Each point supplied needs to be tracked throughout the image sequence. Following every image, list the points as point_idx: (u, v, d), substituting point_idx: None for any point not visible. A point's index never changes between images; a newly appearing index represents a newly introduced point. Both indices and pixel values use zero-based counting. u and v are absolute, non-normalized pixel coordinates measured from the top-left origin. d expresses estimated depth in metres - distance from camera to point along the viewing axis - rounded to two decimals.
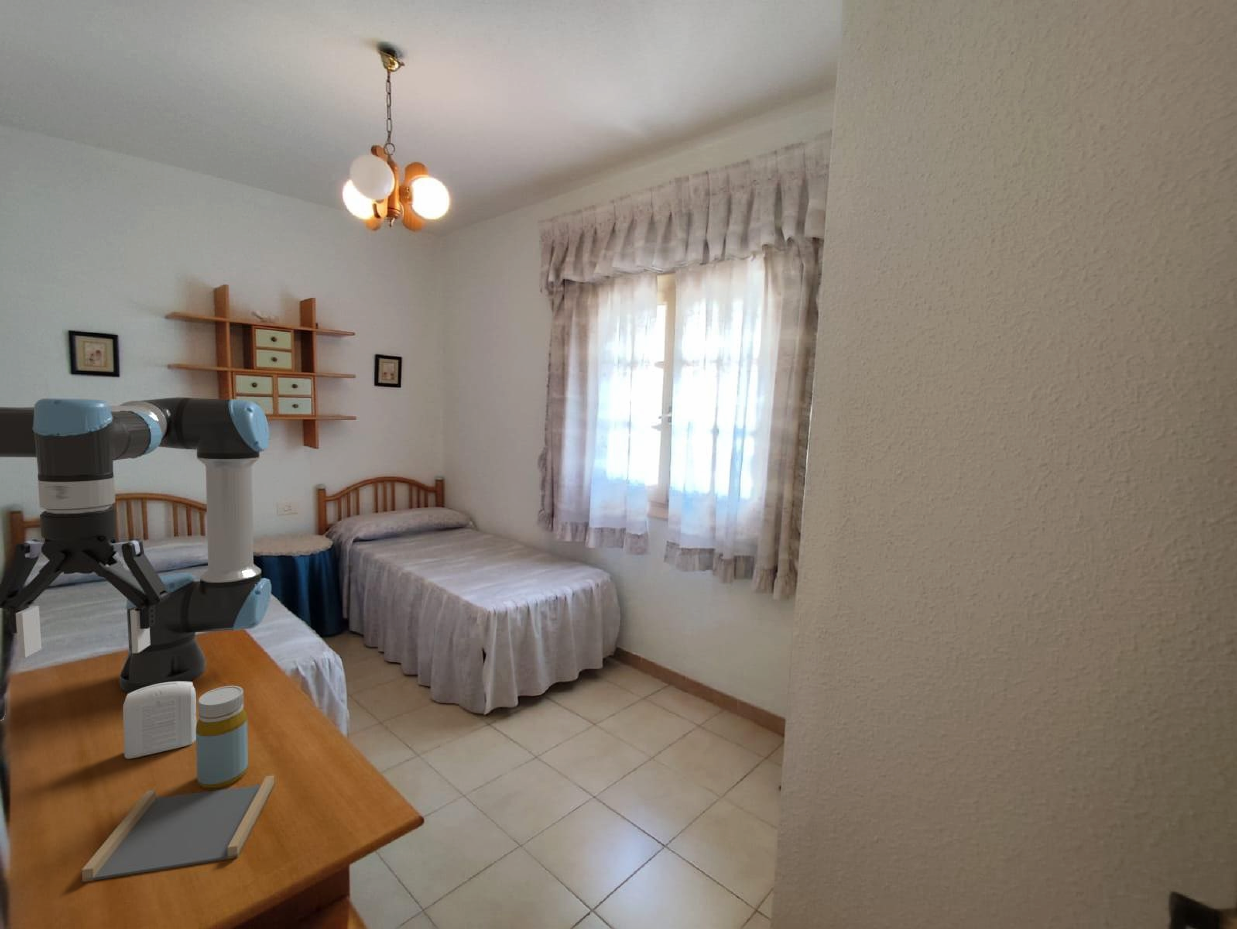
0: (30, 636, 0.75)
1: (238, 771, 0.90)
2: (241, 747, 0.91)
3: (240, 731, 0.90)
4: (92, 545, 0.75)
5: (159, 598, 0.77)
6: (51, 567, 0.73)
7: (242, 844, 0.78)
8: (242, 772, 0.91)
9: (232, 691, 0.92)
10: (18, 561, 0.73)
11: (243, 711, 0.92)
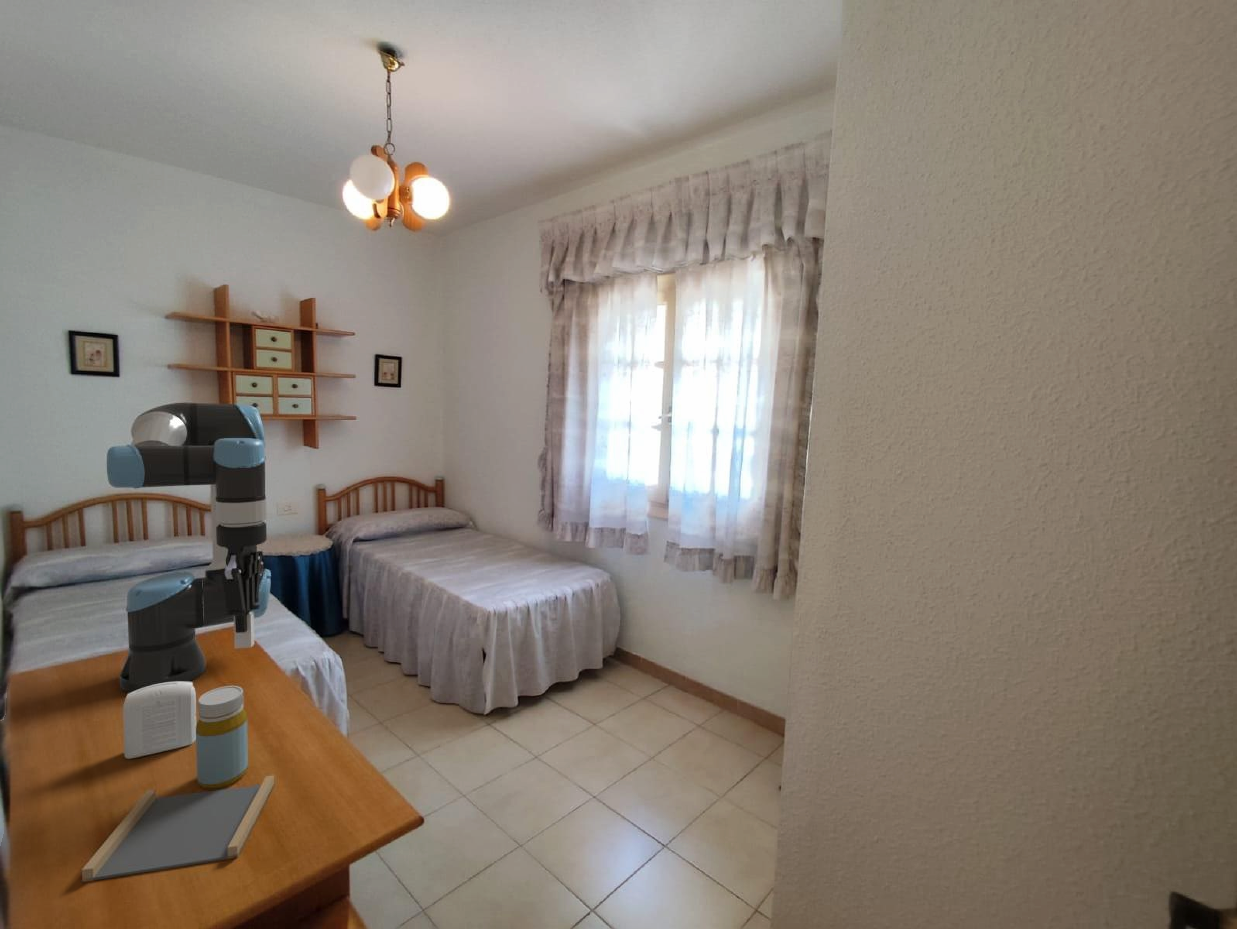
0: None
1: (238, 771, 0.90)
2: (241, 747, 0.91)
3: (240, 731, 0.90)
4: None
5: (228, 614, 0.94)
6: None
7: (242, 844, 0.78)
8: (242, 772, 0.91)
9: (232, 691, 0.92)
10: None
11: (243, 711, 0.92)
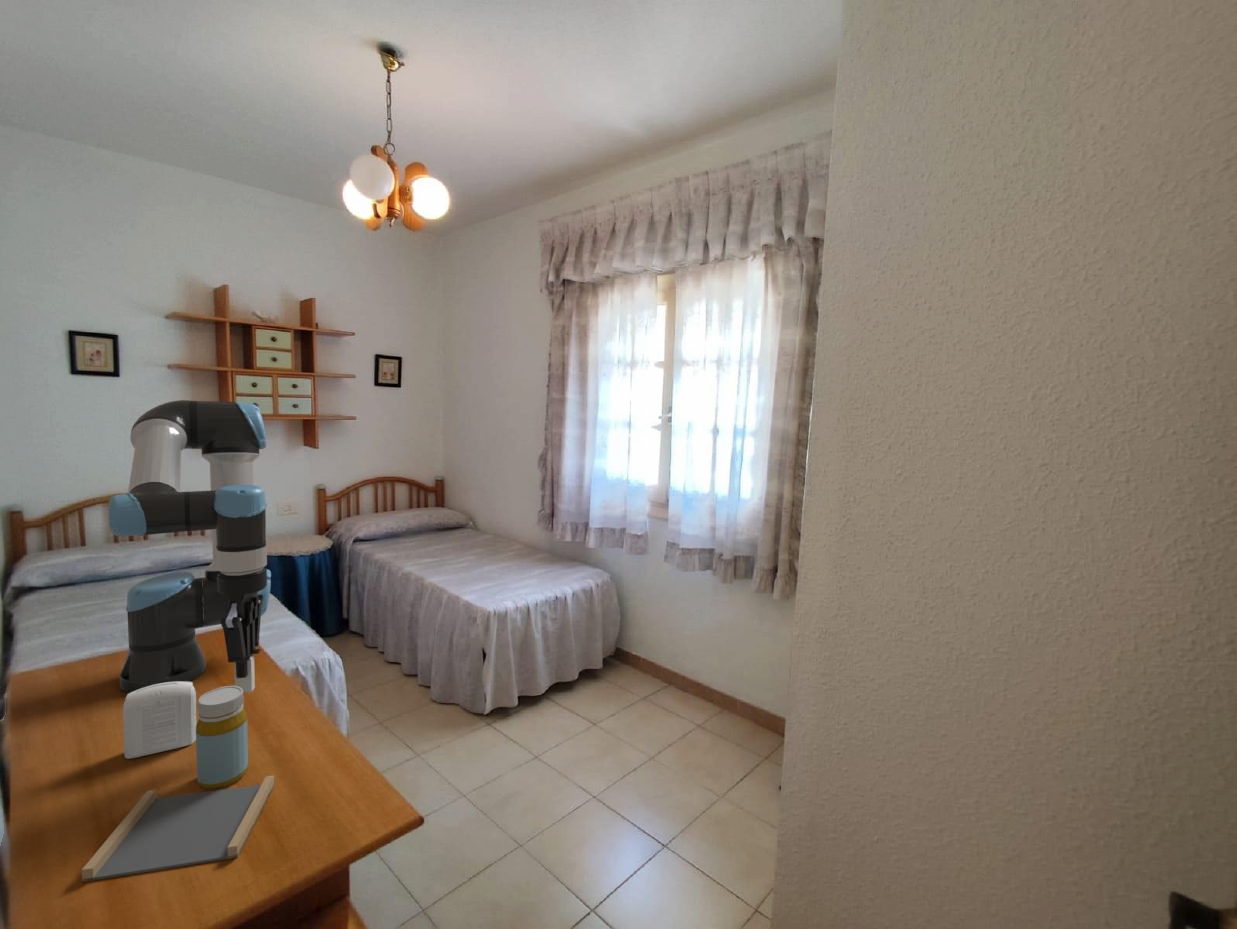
0: None
1: (238, 771, 0.90)
2: (241, 747, 0.91)
3: (240, 731, 0.90)
4: None
5: (228, 660, 0.95)
6: None
7: (242, 844, 0.78)
8: (242, 772, 0.91)
9: (232, 691, 0.92)
10: None
11: (243, 711, 0.92)
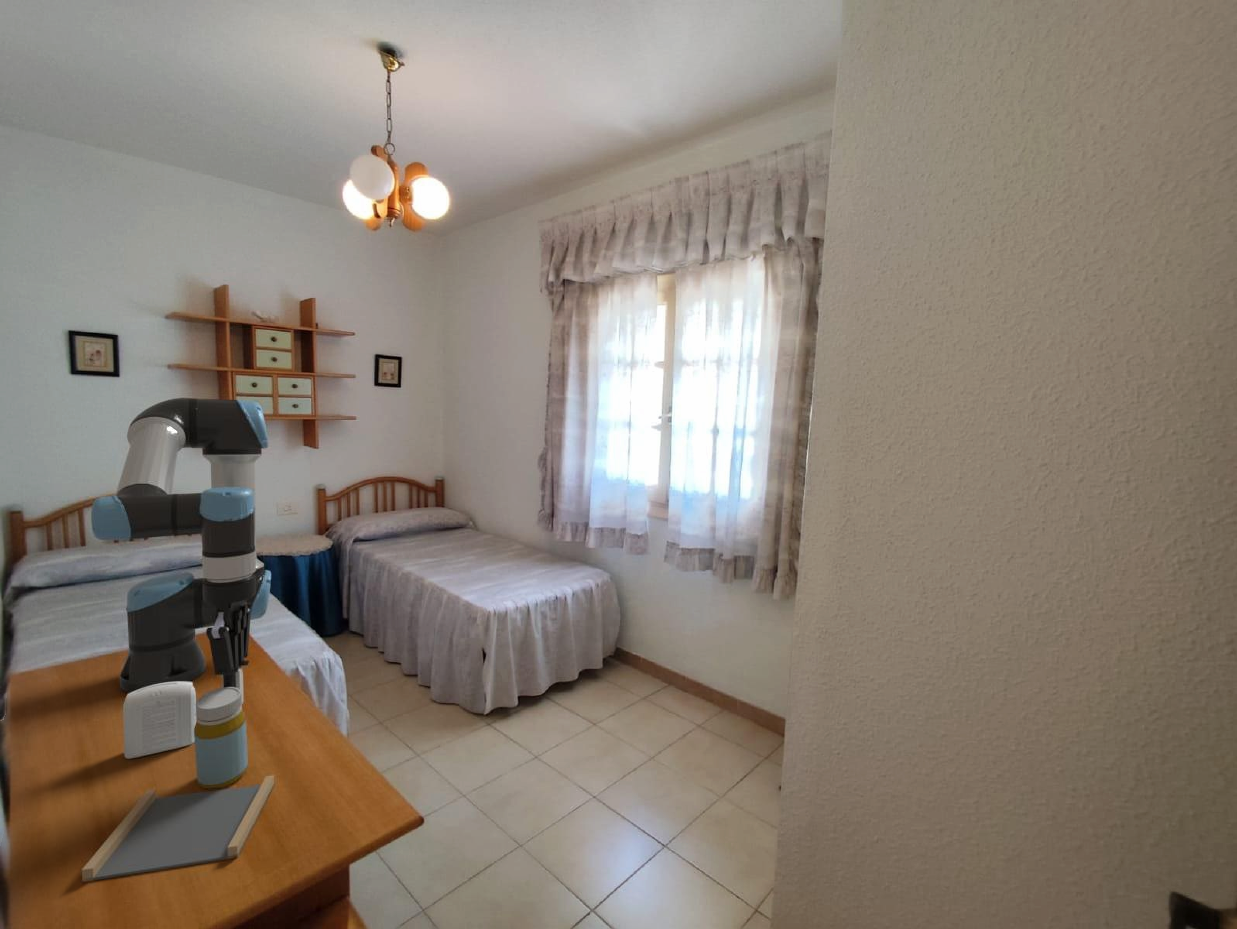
0: None
1: (237, 771, 0.90)
2: (240, 748, 0.90)
3: (239, 732, 0.90)
4: None
5: (215, 673, 0.90)
6: None
7: (242, 844, 0.78)
8: (242, 772, 0.91)
9: (230, 693, 0.90)
10: None
11: (241, 713, 0.91)
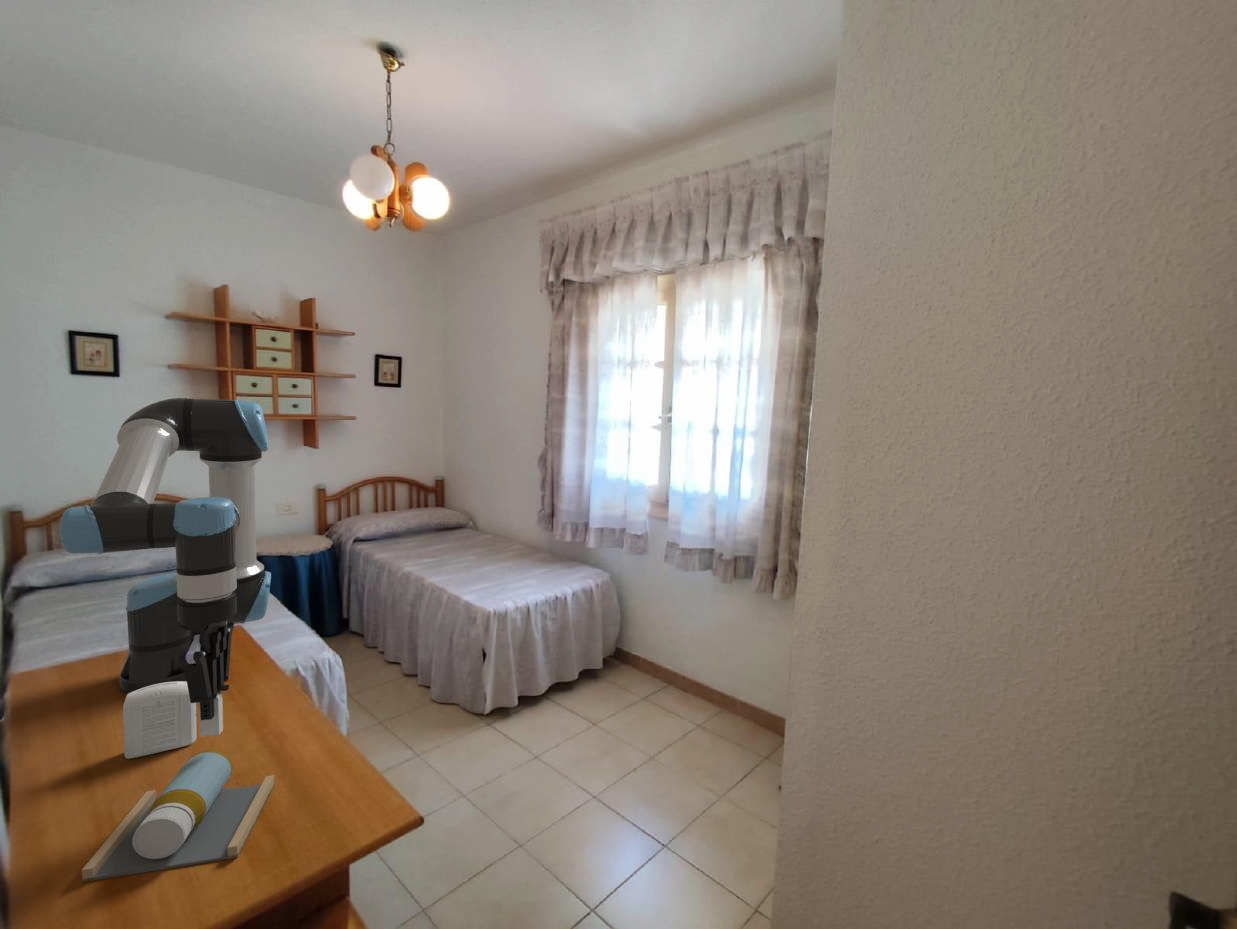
0: None
1: (227, 780, 0.87)
2: (217, 793, 0.84)
3: (208, 808, 0.81)
4: None
5: (191, 701, 0.82)
6: None
7: (242, 844, 0.78)
8: (231, 772, 0.88)
9: (167, 827, 0.74)
10: None
11: (196, 810, 0.78)
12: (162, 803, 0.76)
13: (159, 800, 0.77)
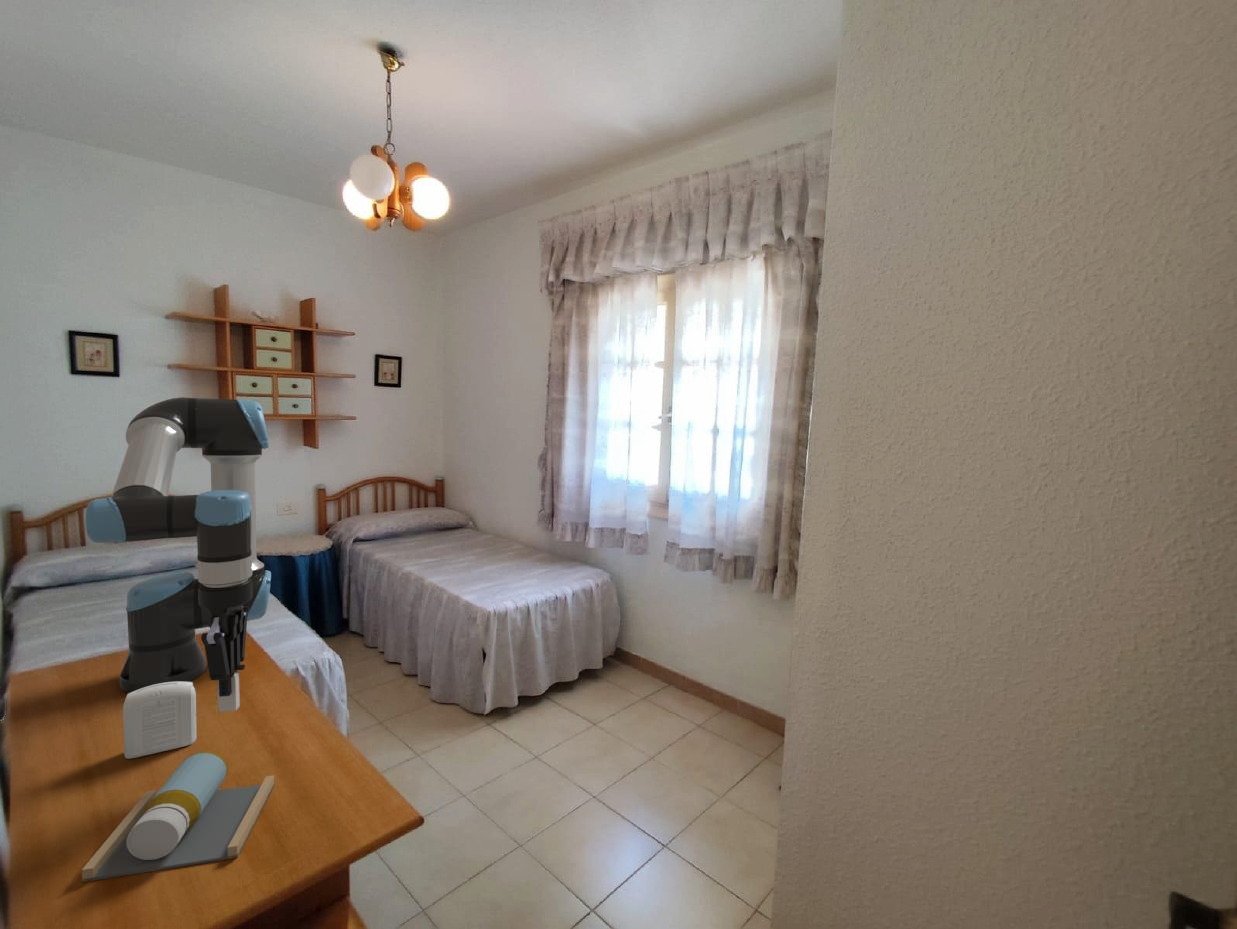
0: None
1: (224, 777, 0.87)
2: (213, 789, 0.83)
3: (203, 805, 0.80)
4: None
5: (210, 678, 0.89)
6: None
7: (242, 844, 0.78)
8: (226, 769, 0.88)
9: (159, 827, 0.74)
10: None
11: (188, 807, 0.78)
12: (152, 806, 0.76)
13: (149, 804, 0.77)
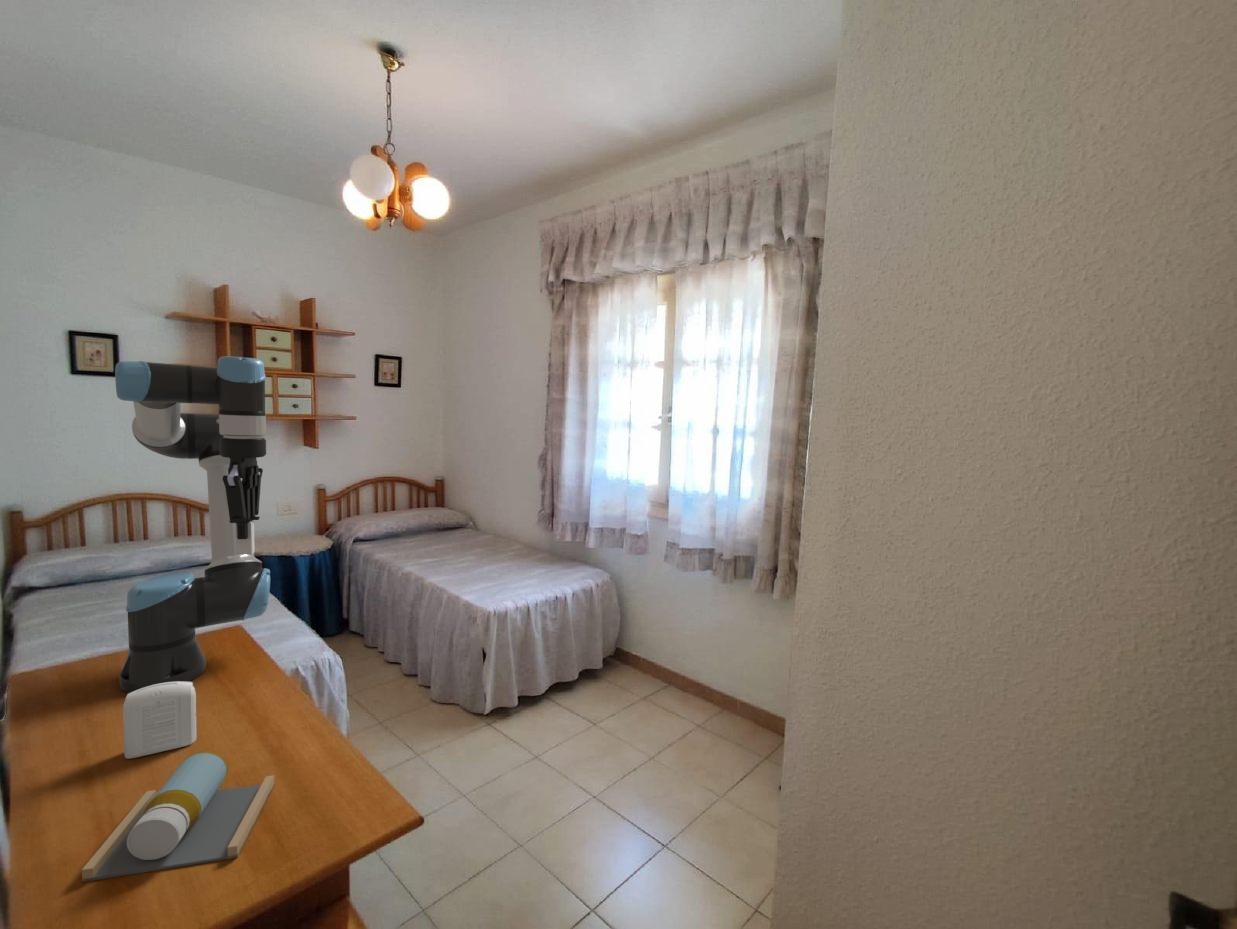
0: None
1: (224, 777, 0.87)
2: (213, 789, 0.83)
3: (203, 805, 0.80)
4: None
5: (230, 519, 1.02)
6: None
7: (242, 844, 0.78)
8: (226, 769, 0.88)
9: (159, 827, 0.74)
10: None
11: (188, 808, 0.78)
12: (152, 806, 0.76)
13: (150, 804, 0.77)
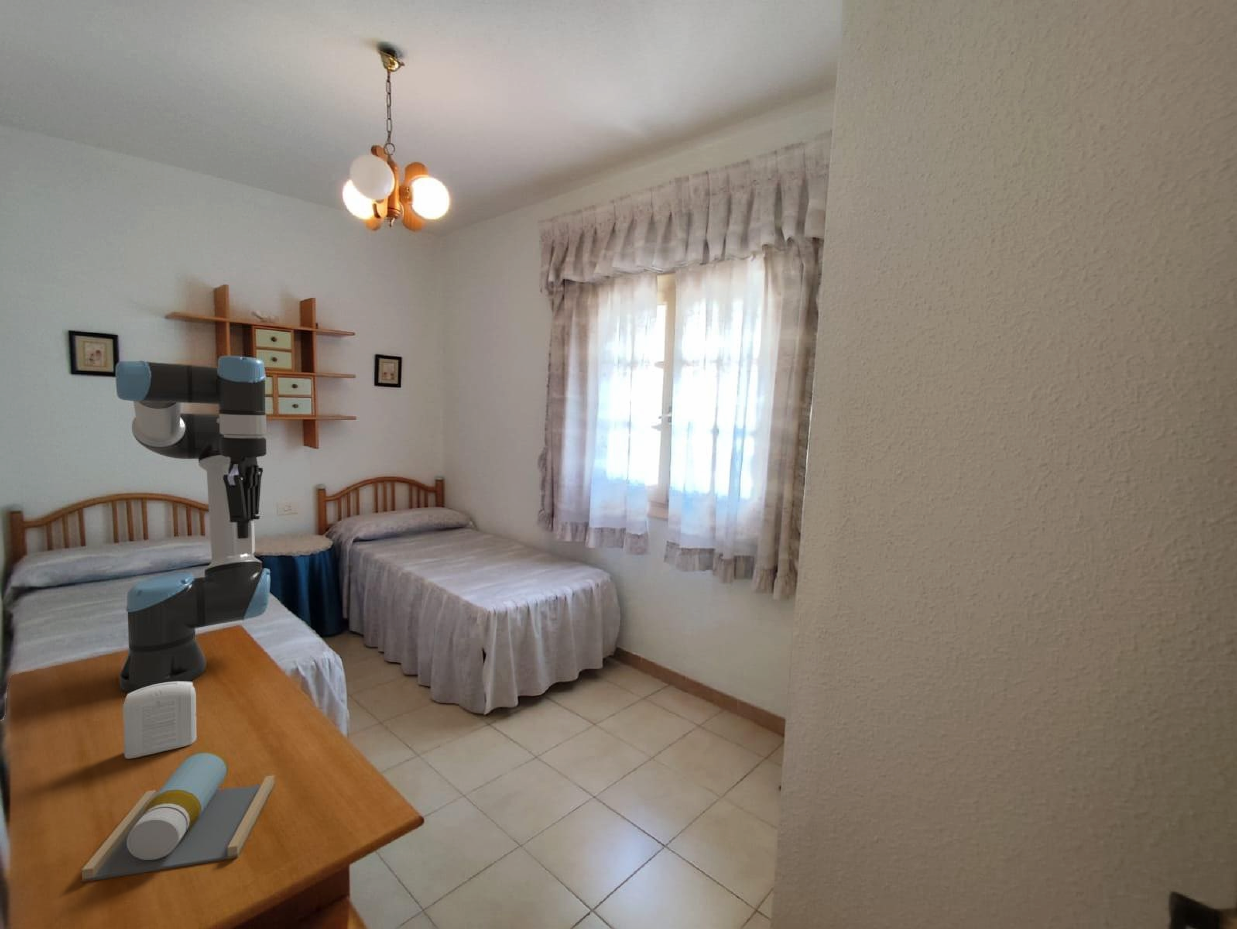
0: None
1: (224, 777, 0.87)
2: (213, 789, 0.83)
3: (203, 805, 0.80)
4: None
5: (230, 519, 1.02)
6: None
7: (242, 844, 0.78)
8: (226, 769, 0.88)
9: (159, 827, 0.74)
10: None
11: (188, 808, 0.78)
12: (152, 806, 0.76)
13: (150, 804, 0.77)
